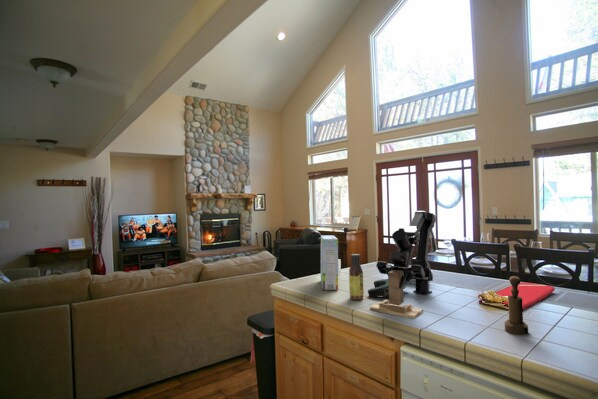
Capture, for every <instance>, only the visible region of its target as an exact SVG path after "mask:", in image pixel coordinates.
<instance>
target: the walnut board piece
mask: <svg viewBox="0 0 598 399" xmlns="http://www.w3.org/2000/svg"><path fill="white" fill-rule="evenodd" d="M402 276H403V271H396V270H392V271H390V272H388V275H387V279H388V281H389V295H388V300H389V304H393V305H402V304H403V303H404V302H405V301H404V297H405V296H404V289H403V287H402V288H401V289H400V288H399V286H400V282H401V279H402Z"/></svg>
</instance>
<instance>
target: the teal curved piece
mask: <svg viewBox="0 0 598 399" xmlns="http://www.w3.org/2000/svg"><path fill="white" fill-rule="evenodd" d="M412 282H414V280H413V281H412ZM410 284H411V281H409V282H407V283H406V284H405V285H404V286H403V290H405V289H406V287H407V286H410ZM373 285H374V287H372V288H370V289H368V290H367V293H368V297H369V298H372V297H373V298H376V297H386V296H389V284H388V278H385V279H378V280H374V281H373Z"/></svg>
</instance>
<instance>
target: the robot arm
mask: <svg viewBox="0 0 598 399" xmlns="http://www.w3.org/2000/svg"><path fill="white" fill-rule="evenodd" d="M436 222H437V217H436V215H435V214H434V213H432V212H428V211H425V210H417V211H415V212H414V215H413V218H412V220H411V222H409V225H408V227H405V228H403V227H402V228H401V227H399V228H398V230H396V231H394V232H393V233H392V235H391V238H392V240H393V242H394V244H395V246H396V248H398V250H397V251H390V254H389V260H391V264H389V263H388V262H387V261H382V260H381V261H380V260H379V261H377V262H376V265H375V266H376V269H377V270H378V272H379V274H382V275H387V276H388V272H390V271H392V270H396V271H403V276H402V279H401V282H400V286H399V288H400V289H401V288H402V287H403V286H404V285H405V284H406V283H407V282H409V281H410V280H411V279H416V280H415V282H416V283H414V284H415V288H414V289H415V290H412V293H416V294H420V295H428V294H432V293H433V291H432V290H430V282H431V281H434V274H433V271H432V269H431V265H430V263H429V262H428V253H429V247H430V246H429V245H430V244H429V243H430V235H431V231H432V230H433V229H434V228H435V223H436ZM413 245H417V251H416V252H417V254H416V258H414V259H412V255H413V254H415V252H414V246H413ZM411 259H412V261H411ZM409 265H411V268H408V267H409ZM388 284H389V281H388Z"/></svg>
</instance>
